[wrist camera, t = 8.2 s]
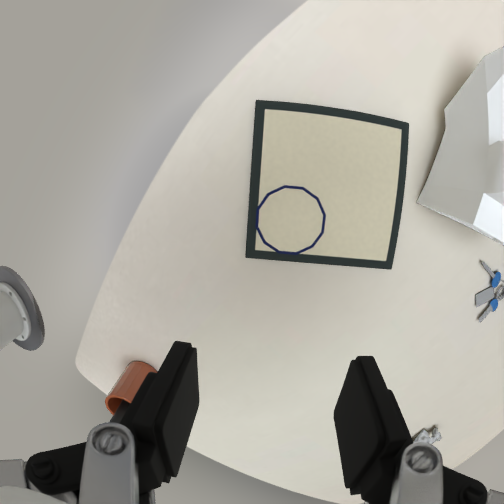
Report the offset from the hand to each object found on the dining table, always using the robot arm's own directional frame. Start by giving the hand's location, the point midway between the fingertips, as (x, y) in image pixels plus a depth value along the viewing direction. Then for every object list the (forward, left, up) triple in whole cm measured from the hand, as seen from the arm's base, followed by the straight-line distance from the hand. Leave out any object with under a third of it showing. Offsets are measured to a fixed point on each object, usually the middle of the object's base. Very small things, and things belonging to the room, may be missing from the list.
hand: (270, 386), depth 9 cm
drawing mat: (+6, +6, -23) cm, 24 cm away
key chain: (+35, -6, -23) cm, 42 cm away
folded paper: (+25, +15, -23) cm, 37 cm away
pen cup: (-17, -23, -23) cm, 37 cm away
